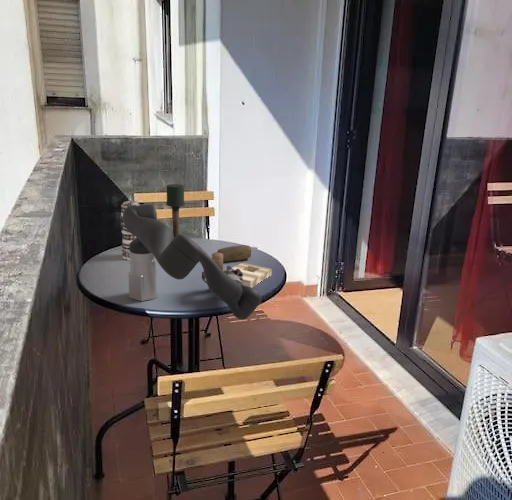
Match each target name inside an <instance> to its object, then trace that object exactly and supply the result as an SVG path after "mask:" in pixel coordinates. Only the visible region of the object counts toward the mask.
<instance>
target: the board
mask: <svg viewBox="0 0 512 500" xmlns="http://www.w3.org/2000/svg"><path fill="white" fill-rule="evenodd" d="M231 268H232V269H234V270H236V269H240V271H241V272H242V273H243V280H242V281H241V282H242V283H243V284H244V285H245V286H248V287H251V288H254V287H256V286H257V285H259V284H261V283H262V282H264V281H265V280H267V279H268V277H269V276H270V277H272V268H269V267H263V266H259V265H255V264H251V263H245V262H241V263H239V264H237V265H234V266H233V267H231ZM270 277H269V278H270ZM266 278H267V279H266ZM264 279H265V280H264ZM263 280H264V281H263ZM261 281H262V282H261ZM260 282H261V283H260ZM258 283H259V284H258ZM255 285H256V286H255ZM253 286H254V287H253Z"/></svg>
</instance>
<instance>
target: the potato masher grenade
mask: <svg viewBox="0 0 512 500" xmlns="http://www.w3.org/2000/svg"><path fill="white" fill-rule="evenodd" d="M165 205H166V206H168V207H171V217H172V233H173V235H174V238H175V237H176V236H177V235H179V234H180V229H179V227H180V226H179V222H180V221H179V219H180V207H184V206H185V205H186V203H185V186H184V184H177V183H172V184H167V185H166V203H165Z"/></svg>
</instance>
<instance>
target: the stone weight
mask: <svg viewBox="0 0 512 500" xmlns="http://www.w3.org/2000/svg"><path fill="white" fill-rule="evenodd" d="M216 253H222V254H223V262H234V261H235V262H237V261H243V260H248V259H250V258H251V256H252V249H251V246H250V245H246V244H244V245H243V244H242V245H233V246H225V247H222V248H219V249H217V252H216Z"/></svg>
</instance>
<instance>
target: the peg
mask: <svg viewBox="0 0 512 500" xmlns="http://www.w3.org/2000/svg"><path fill="white" fill-rule="evenodd" d="M211 258H212V259H213V261H214V262H215V263H216V264H217V265H218V266H219V267H220V268H221V269H222V270H223V271H224V261H223V254H222V253H217V252H212V253H211Z"/></svg>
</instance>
